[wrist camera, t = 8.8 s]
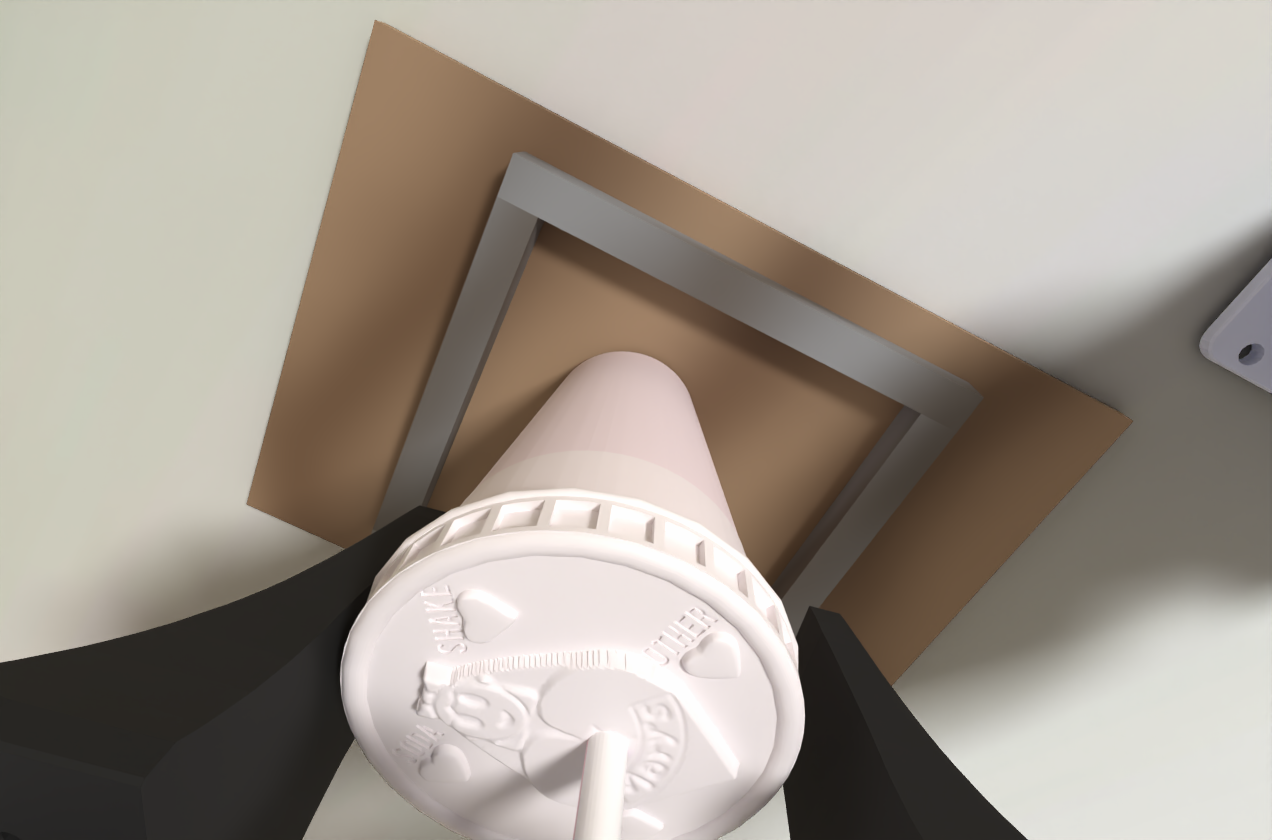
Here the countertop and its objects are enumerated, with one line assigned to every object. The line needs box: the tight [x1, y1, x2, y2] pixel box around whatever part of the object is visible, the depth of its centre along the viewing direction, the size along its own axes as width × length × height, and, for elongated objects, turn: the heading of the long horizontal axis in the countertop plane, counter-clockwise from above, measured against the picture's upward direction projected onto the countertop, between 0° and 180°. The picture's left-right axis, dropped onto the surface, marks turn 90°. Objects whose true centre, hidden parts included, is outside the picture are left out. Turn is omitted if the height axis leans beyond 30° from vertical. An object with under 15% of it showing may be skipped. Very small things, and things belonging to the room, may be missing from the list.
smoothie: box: [340, 351, 805, 840], centre depth 11 cm, size 6×6×14 cm
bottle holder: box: [247, 20, 1133, 686], centre depth 18 cm, size 20×14×2 cm
